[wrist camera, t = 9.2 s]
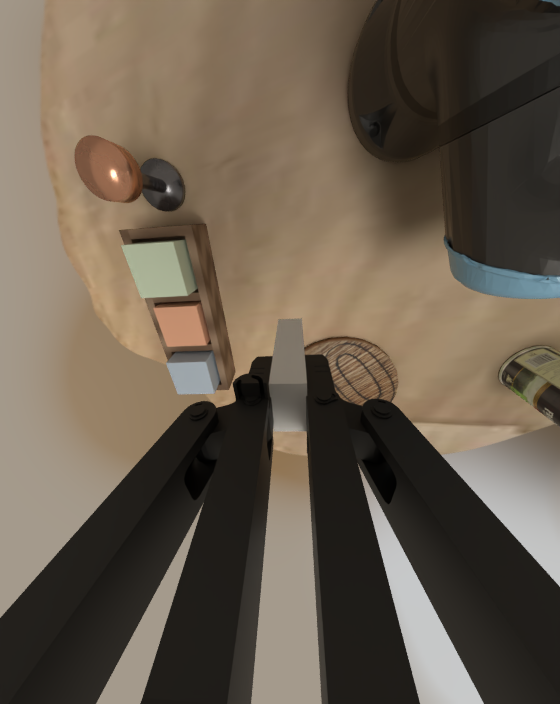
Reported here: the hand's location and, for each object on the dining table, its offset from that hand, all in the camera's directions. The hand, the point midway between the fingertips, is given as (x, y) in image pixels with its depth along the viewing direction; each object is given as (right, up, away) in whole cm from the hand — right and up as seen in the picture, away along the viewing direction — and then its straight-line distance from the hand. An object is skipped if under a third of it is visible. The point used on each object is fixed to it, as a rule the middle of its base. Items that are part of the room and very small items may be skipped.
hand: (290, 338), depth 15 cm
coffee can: (+50, -4, +31) cm, 58 cm away
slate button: (-16, -4, +27) cm, 32 cm away
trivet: (+12, -8, +35) cm, 38 cm away
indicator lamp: (-17, +23, +18) cm, 34 cm away
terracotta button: (-16, +5, +24) cm, 30 cm away
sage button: (-17, +12, +18) cm, 28 cm away
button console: (-16, +7, +27) cm, 32 cm away
